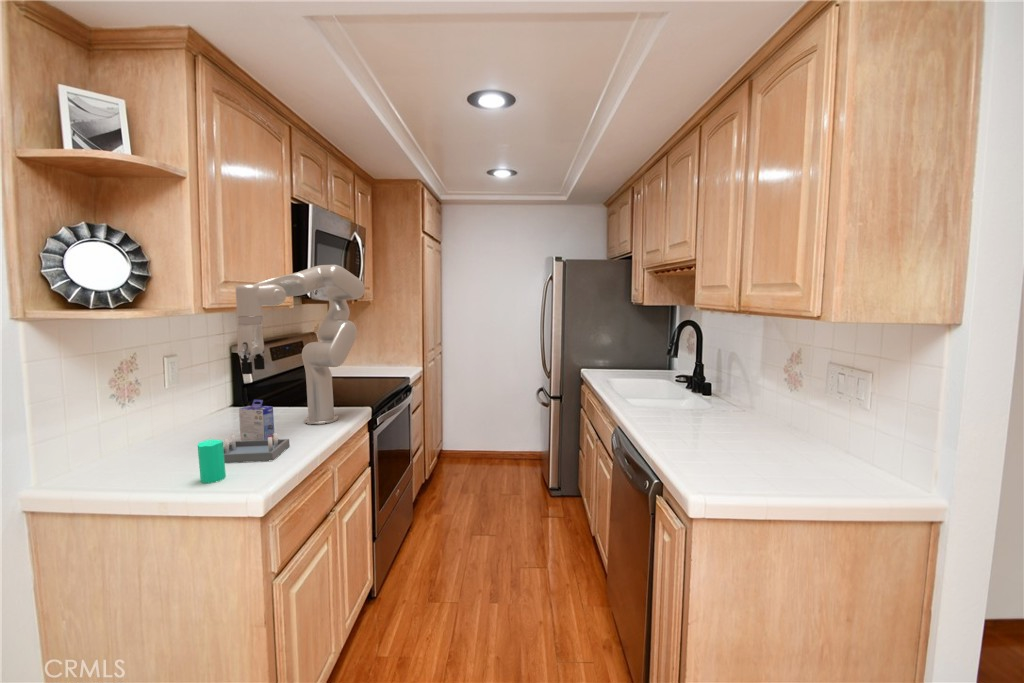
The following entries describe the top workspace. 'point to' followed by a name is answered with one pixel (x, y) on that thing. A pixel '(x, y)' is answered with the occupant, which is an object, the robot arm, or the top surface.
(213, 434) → the top surface
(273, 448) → the pin tray
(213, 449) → the candle
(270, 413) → the ink cartridge box
